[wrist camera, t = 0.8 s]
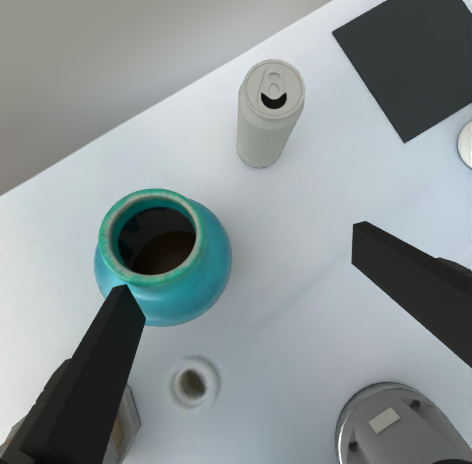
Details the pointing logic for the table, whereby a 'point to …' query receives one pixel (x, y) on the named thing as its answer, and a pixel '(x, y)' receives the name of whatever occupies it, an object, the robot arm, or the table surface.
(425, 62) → the mat
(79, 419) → the robot arm
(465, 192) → the table surface
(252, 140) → the beverage can
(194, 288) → the vase
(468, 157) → the jar
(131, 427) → the tankard
